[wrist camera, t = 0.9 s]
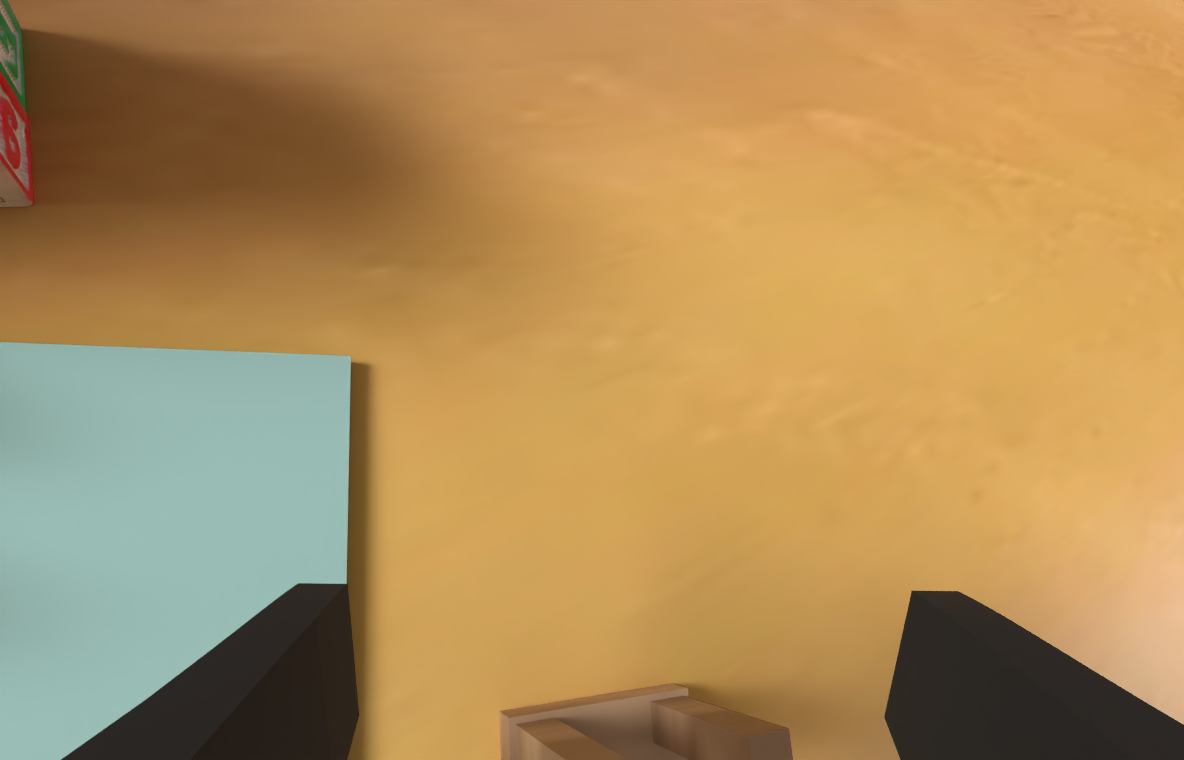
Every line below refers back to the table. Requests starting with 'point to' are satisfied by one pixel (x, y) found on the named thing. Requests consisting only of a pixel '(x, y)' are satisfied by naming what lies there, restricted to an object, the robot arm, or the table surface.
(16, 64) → the stack of blocks
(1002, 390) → the table surface
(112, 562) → the mat
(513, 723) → the upturned stool
